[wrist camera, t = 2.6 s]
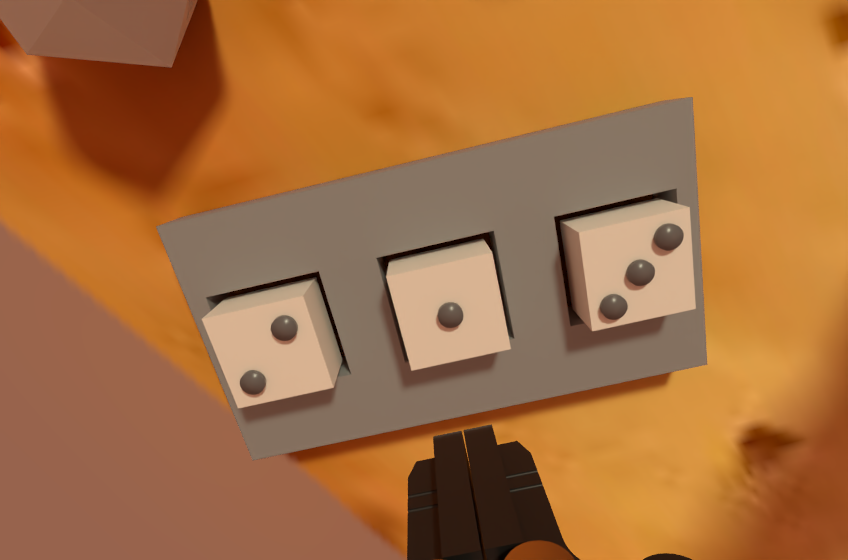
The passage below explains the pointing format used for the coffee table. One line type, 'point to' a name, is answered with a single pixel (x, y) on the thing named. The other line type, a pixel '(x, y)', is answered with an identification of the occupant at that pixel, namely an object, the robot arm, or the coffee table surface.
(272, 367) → the two pip tile
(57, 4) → the die
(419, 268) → the one pip tile
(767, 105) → the coffee table surface
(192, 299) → the button board
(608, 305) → the three pip tile
